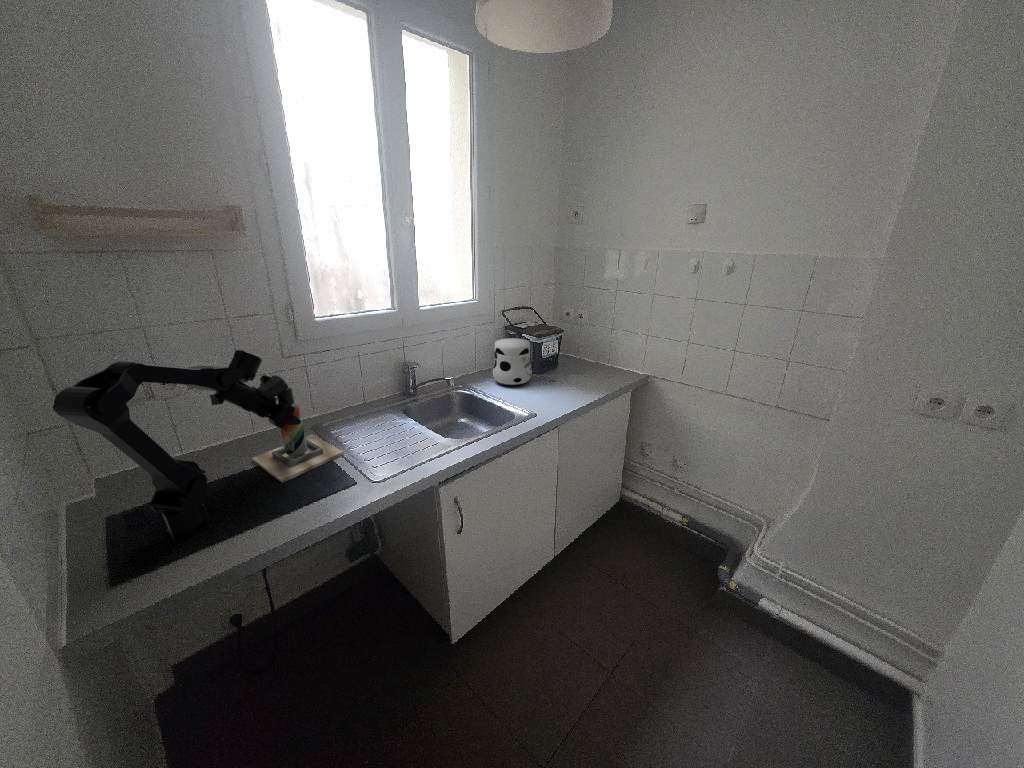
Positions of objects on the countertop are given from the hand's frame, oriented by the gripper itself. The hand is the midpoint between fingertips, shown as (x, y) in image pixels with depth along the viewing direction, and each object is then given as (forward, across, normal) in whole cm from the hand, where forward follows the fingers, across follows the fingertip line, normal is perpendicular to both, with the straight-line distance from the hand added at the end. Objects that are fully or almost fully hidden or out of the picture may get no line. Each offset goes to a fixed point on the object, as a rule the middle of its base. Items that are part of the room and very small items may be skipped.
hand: (295, 420), depth 115 cm
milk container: (+70, -13, -54) cm, 90 cm away
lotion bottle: (+6, 0, +8) cm, 10 cm away
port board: (+8, 0, +9) cm, 12 cm away
